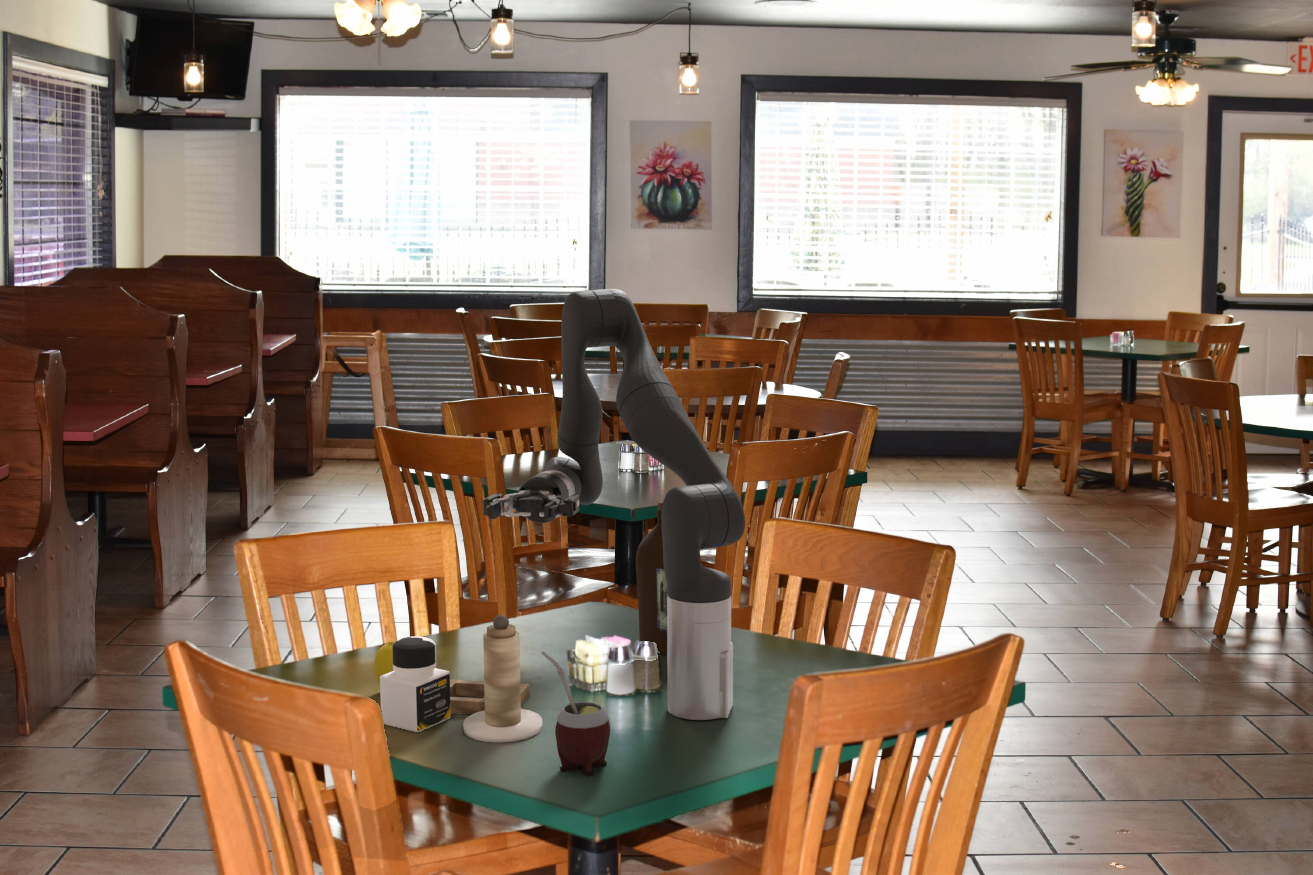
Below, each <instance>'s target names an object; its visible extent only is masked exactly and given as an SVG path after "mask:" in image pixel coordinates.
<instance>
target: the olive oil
mask: <svg viewBox="0 0 1313 875" xmlns="http://www.w3.org/2000/svg"><path fill="white" fill-rule="evenodd" d="M663 501H664V499H663V500H662V499H661V500H658V502H657V506H658V508H657V510H656V515H657V516H656V518H657V519H656V520H657V522H656V524H655V526H654V527H653V528H652V529H651V530H650V531H649V532H648V533H647V535H645V536H644V538H643V539H642V540H641V541H640V543H639V545H638V547H637V550H636V552H635V573H636V587H637V588H636V589H637V603H638V604H637V606H638V630H639V631H638V633H639V636H638V637H639V642H640V641H650V642H655V643H656V644H657V648H658V651H659V652H660V654H659V655H667V582H666V577H665V573H664V560H663V539H662V520H661V516H662V505H663Z"/></svg>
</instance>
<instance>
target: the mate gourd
mask: <svg viewBox="0 0 1313 875" xmlns="http://www.w3.org/2000/svg"><path fill="white" fill-rule="evenodd" d="M541 655H542V656H544V658H546V659H547V660H548V661H549V662H550V663H551V664H552V665H553V666H554V667H555V668H556V670H557V671H556V672H557V674H558V676H559V677H560V679H561V682H562V684H563V685H562V686H563V688H564V691H565V693H566V696H567V698H568V702H569V704H566V705H565V706H563V707H562V709H561V710H560V712H559V713H558V715H557V718H556V723H555V732H554V734H555V735H554V736H555V741H556V749H557V754H558V757H559V760H560V763H561V766H559V771H560V772H561V773H565V772H571V771H579V770H581V771H582V772H583V774H585V776H587V777H593V776H594V771H593V770H592V769H593V768H600V767H605V766H607V763H608V762H607V760H606V755H607V751H608V747H609V742H610V736H611V722H610V719H609V715H608V713H607V711H606V710H605V709H604V707H603V706H602V705H601V704H598V703H596V702H592V701H591V702H590V701H577V702H575V701H574V699H573V696H572V694H571V690H570V687H569V685H568V680H567V678H566V676H565V675H566V673H565V670H564V669H563V668H562V666H561V665H560V664H559V663H558V662H557V661H556V660H555V658H553V657H551V656H550V655H549V654H547V653H546V652H545V651H543V650H542V651H541Z"/></svg>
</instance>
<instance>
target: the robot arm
mask: <svg viewBox="0 0 1313 875" xmlns="http://www.w3.org/2000/svg"><path fill="white" fill-rule="evenodd" d="M561 312H562V313H561V324H560V325H561V326H560V327H561V331H560V332H561V334H560V335H561V336H560V337H561V338H560V339H561V375H562V376H561V378H562V380H561V381H562V397H561V398H562V399H561V409H560V410H561V411H560V417H559V424H558V426H559V427H558V432H557V441H556V442H557V448H558V450H559V451H560V452H561V453H562V454H564V455H565V456H566V457H563V456H554V457H551V458H550V459H549V460H548V461H547V462H546V464H545V466H544V469H543V471H541V472H539V473H538V474H536V475H533V476H532V477H530V478H528V479H527V480H525V481H524V482H523V483H522V485H521V486H520V488H519V489H518V492H513V493H508V494H506V493H505V494H504V496H503V494H502V493H499V492H496V493H494V494H492V495H488V496H487V497H484V498H482V509H483V510H482V511H483V514H482V515H484V516H486V517H488V519H489V520H496V519H498V518H499V517H501V516H505V517H507V518H508V517H509V518H514V517H520V516H522V517H525V518H526V519H527V520H528V521H530V522H533V523H536V524H546V523H550V522H552V521H553V520H555V519H557V518H560V517H562V514H565V516H566V517H568V518H571V517H573V516H575V515H576V514H577V513H578V512H579V511H580V505H581V506H582V505H584V506H589V505H592V504H593V503H595V502H596V501H597V500H598V499H599V497H600V496H601V494H602V490H603V485H604V484H603V483H604V479H603V471H602V470H603V468H602V464H601V460H600V450H599V442H600V436H601V430H602V429H601V428H602V423H603V406H602V405H603V404H602V402H601V399H600V396H599V394H598V392H597V390H596V388H595V386H594V385H593V383H592V381H591V379H590V377H589V375H588V372H587V370H586V365H585V356H586V351H587V349H588V348H600V347H601V348H602V347H612V346H613V347H615V348H617V350H618V351H619V352H620V355H621V357H622V358H623V362H624V364H623V370H622V373H621V376H620V379H619V382H618V387H617V389H616V397H615V404H616V410H617V412H618V414H619V417H620V419H621V420H622V422H623V424H624V426H625V429H626V430H627V433H628V434H629V436H630V438H631V439H632V441H633V442H634V443H635V445H636V446H637V447H639V448H640V450H642V451H643V452H645V453H646V454H647V455H648V456H650V457H651V458H653V459H654V460H656V461H657V462H659V463H660V464H662V465H663V466H665V467H666V468H667V469H669V470H670V471H671V472H673V473H674V474H675V475H677V477H679V478H680V479H681V480H682V481H683V482H684V484H685V485H682V486H677V487H673V488H671V489H669V490H668V492H667V493H666V494H665V495H664V498H663V500H664V501H663V505H662V516H661V520H662V539H663V560H664V573H665V577H666V582H667V656H666V657H667V660H666V662H667V665H666V666H667V668H666V671H667V672H666V673H667V677H666V678H667V680H666V681H667V683H666V684H667V685H666V686H667V694H666V697H667V698H666V699H667V711H668V713H669V714H670V715H672V716H674V717H676V718H679V719H684V720H691V721H708V720H715V719H728V718H729V716H730V713H731V710H732V708H733V706H734V642H732V579H731V577H730V575H729V574H728V573H725V572H724V571H721V570H717V569H715V568H710V567H706V566H705V565H703V564H702V556H701V550H706V549H714V548H722V547H727V546H729V545H730V546H731V545H734V544H736V543H737V542H739V541H740V540H741V539H742V538H743V535H744V533H745V529H746V516H745V510H744V507H743V504H742V501H741V499H740V496H739V495H738V493H737V491H736V489H735V488H734V486H733V484H732V482H731V481H730V480H729V479H728V477H727V476H726V475H725V473H724V472H723V470H722V469H721V467H720V466H719V464H718V463H717V461H716V460H715V459H714V457H713V456H712V454H711V453H710V452H709V450H708V448H707V447H706V445H705V444H704V442H703V440H702V439H701V437H700V434H698V432H697V429H696V428H695V427H694V425H693V423H692V421H691V419H690V418H689V415H688V413H687V411H686V410H685V407H684V405H683V404H682V402H681V399H680V398H679V396H678V394H677V392H676V391H675V389H674V386H673V385H672V384H671V382H670V380H669V379H668V377H667V375H666V373H665V371H664V369H663V368H662V366H661V363H660V362H659V360H658V358H657V356H656V353H655V352H654V350H653V347H652V346H651V343H650V341H649V339H648V336H647V333H646V332H645V329H644V326H643V323H642V321H641V319H640V316H639V314H638V312H637V309H636V307H635V305H634V303H633V302H632V300H631V297H630V296H629V295H628V294H627V293H626V292H625V291H624V290H621V289H617V288H605V289H604V288H603V289H602V288H601V289H600V288H599V289H588V290H587V289H585V290H576V291H572V292H571V293H569V294H568V295H567V297H566V298H565V300H564V303H563V306H562V311H561ZM567 457H568V458H567ZM503 508H504V509H503Z"/></svg>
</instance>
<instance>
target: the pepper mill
mask: <svg viewBox="0 0 1313 875" xmlns="http://www.w3.org/2000/svg"><path fill="white" fill-rule="evenodd" d="M516 628H517V627H516V626H515V625H514V624H512V623H510V620H509V618H508V617H507V616H506V615H504V614H498V615H496V616H495V617H494V619H493V621H492V624H490V625H488V626H487V627H486V632H484V633H483V634H482V637H483V638H482V641H483V642H482V644H483V681H484V696H485V723H486V724H487V725H489V726H492V727H510V726H514V725H517V724H519V723H520V722H521V709H522V708H521V707H522V706H521V698H520V683H521V655H520V654H521V652H520V633H519V631H517V630H516Z"/></svg>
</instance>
